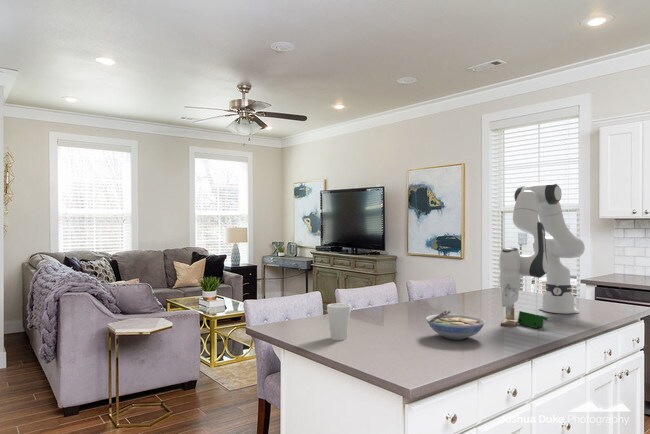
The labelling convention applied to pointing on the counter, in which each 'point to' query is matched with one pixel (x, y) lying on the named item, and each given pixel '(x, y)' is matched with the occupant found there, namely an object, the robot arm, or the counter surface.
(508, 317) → the awl
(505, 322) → the bandage strip
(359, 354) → the counter surface
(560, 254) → the robot arm
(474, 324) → the ramen bowl
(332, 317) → the foam cup
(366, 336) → the counter surface
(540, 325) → the clamp
